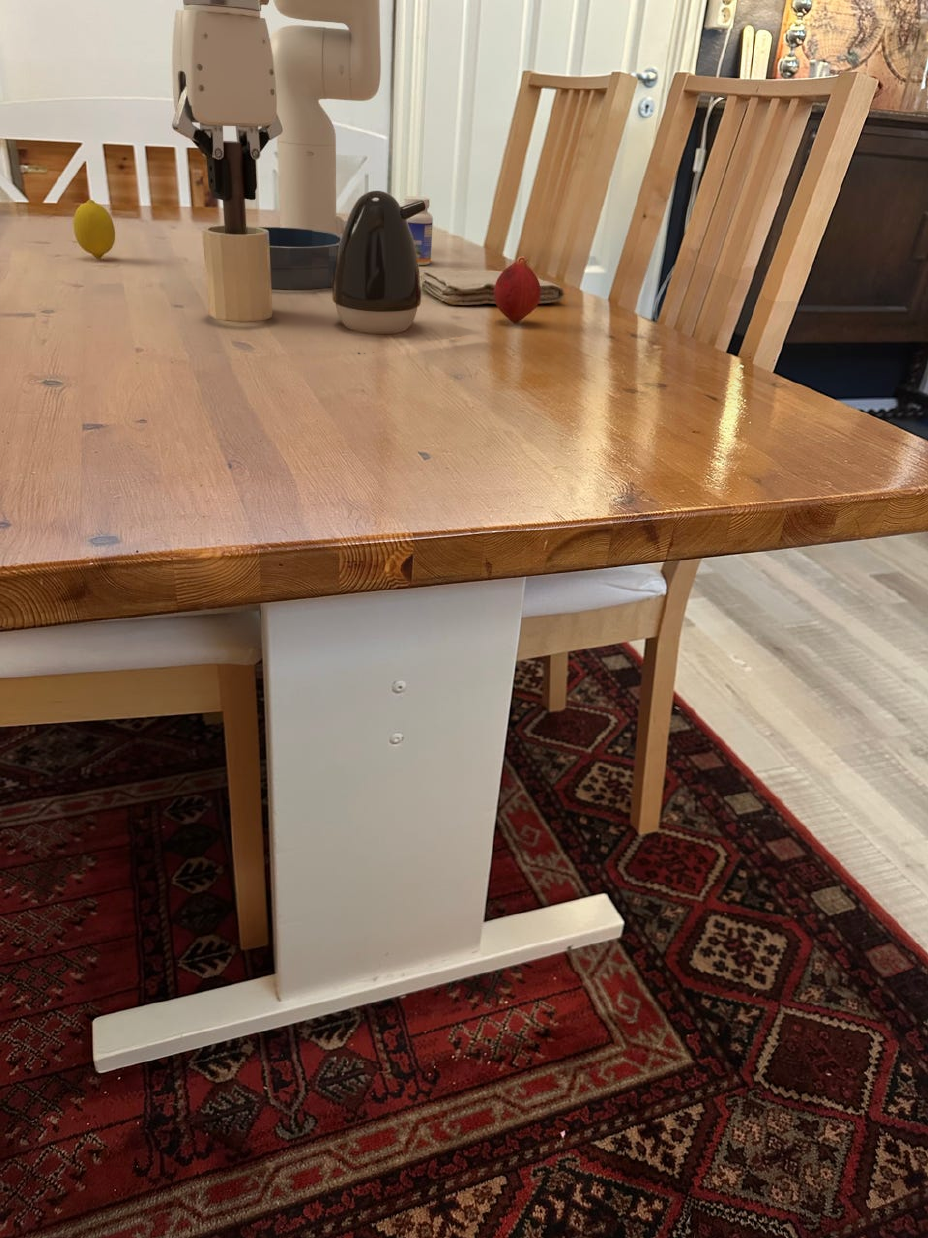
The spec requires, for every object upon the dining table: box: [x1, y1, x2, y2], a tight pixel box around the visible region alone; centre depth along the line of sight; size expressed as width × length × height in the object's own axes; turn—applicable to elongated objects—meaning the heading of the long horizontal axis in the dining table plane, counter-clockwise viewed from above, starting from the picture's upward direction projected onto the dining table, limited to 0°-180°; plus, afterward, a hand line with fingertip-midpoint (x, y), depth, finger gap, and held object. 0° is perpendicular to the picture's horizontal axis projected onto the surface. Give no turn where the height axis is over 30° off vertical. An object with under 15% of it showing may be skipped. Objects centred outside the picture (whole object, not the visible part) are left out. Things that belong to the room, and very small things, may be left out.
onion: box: [494, 255, 541, 324], centre depth 113 cm, size 6×6×8 cm
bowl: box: [258, 226, 341, 291], centre depth 125 cm, size 18×18×6 cm
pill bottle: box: [403, 195, 434, 266], centre depth 144 cm, size 5×5×10 cm
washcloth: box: [420, 269, 565, 306], centre depth 127 cm, size 12×18×3 cm, turn 111°
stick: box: [222, 140, 247, 234], centre depth 101 cm, size 2×2×18 cm
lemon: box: [73, 199, 116, 260], centre depth 130 cm, size 6×6×8 cm
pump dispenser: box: [331, 190, 426, 335], centre depth 102 cm, size 10×10×15 cm
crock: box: [201, 224, 273, 323], centre depth 104 cm, size 7×7×10 cm
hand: (233, 196), depth 99 cm, fingers closed on stick, 2 cm apart
